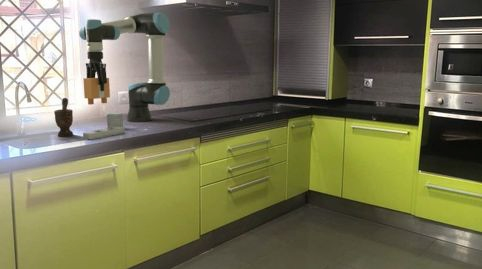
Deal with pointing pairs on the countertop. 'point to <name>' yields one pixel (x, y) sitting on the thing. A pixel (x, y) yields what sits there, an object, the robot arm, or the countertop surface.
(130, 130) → the countertop surface
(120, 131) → the rail
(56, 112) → the mortar and pestle
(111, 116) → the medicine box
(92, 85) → the orange block with prongs
